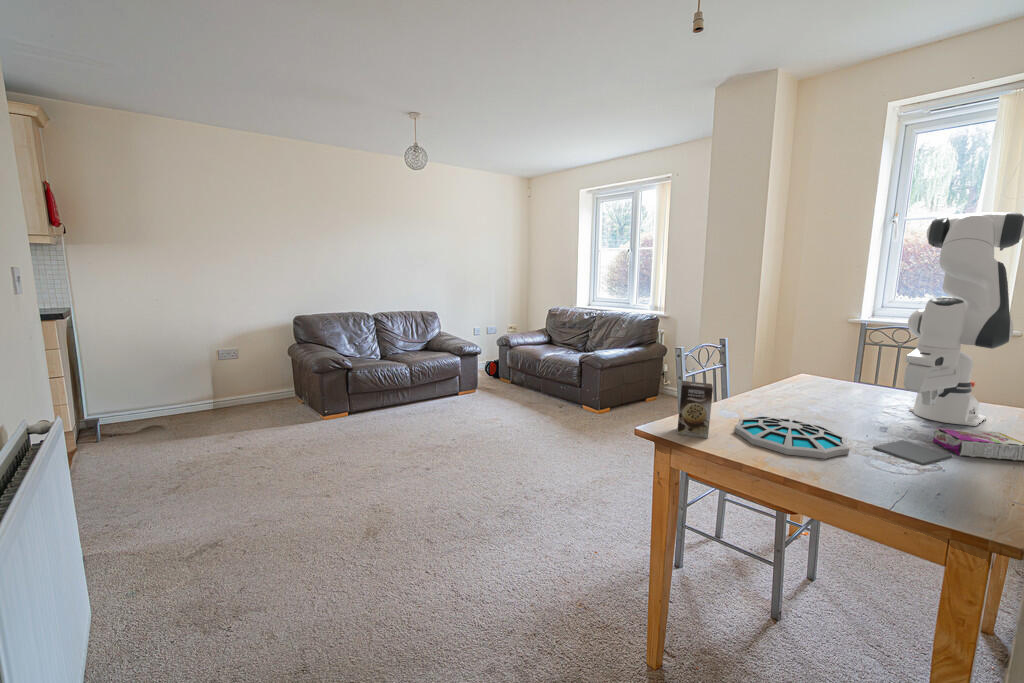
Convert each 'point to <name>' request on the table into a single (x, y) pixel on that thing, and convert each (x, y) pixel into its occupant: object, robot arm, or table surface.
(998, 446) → the candy bar box
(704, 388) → the brown food box
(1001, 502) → the table surface
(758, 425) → the decorative platform
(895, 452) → the mat
